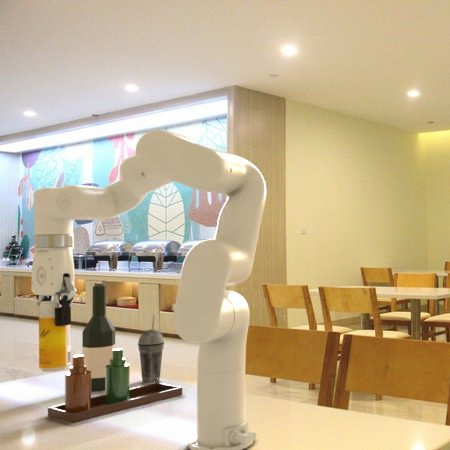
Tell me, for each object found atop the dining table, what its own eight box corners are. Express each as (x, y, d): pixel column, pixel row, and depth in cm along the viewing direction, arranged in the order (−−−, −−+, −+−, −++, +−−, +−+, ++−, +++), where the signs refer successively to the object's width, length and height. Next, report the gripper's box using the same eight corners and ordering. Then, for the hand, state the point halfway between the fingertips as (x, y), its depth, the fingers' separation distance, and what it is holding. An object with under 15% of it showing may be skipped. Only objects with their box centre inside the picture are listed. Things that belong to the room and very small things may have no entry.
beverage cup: (131, 385, 176) (132, 315, 177) (149, 379, 183) (149, 312, 184) (152, 386, 174) (153, 316, 174) (169, 380, 181) (169, 313, 181)
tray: (182, 397, 163) (182, 387, 163) (71, 426, 138) (72, 414, 138) (157, 391, 168) (157, 382, 168) (47, 418, 144) (47, 407, 144)
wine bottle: (101, 394, 165) (102, 284, 166) (75, 393, 167) (75, 283, 168) (121, 387, 174) (122, 282, 174) (96, 385, 175) (96, 281, 176)
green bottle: (133, 404, 153) (134, 348, 154) (113, 409, 149) (113, 352, 149) (121, 401, 156) (121, 346, 157) (100, 406, 152) (101, 349, 152)
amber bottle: (95, 413, 145) (96, 355, 145) (72, 419, 140) (73, 359, 141) (83, 410, 148) (83, 352, 148) (60, 416, 143) (60, 356, 144)
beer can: (43, 367, 136) (42, 300, 137) (73, 365, 138) (72, 299, 139) (35, 373, 131) (35, 303, 131) (67, 370, 133) (66, 301, 133)
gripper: (16, 244, 137) (17, 324, 136) (57, 243, 127) (58, 329, 127) (51, 243, 143) (51, 320, 143) (92, 242, 134) (92, 324, 133)
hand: (54, 323), depth 135 cm, fingers closed on beer can, 6 cm apart
